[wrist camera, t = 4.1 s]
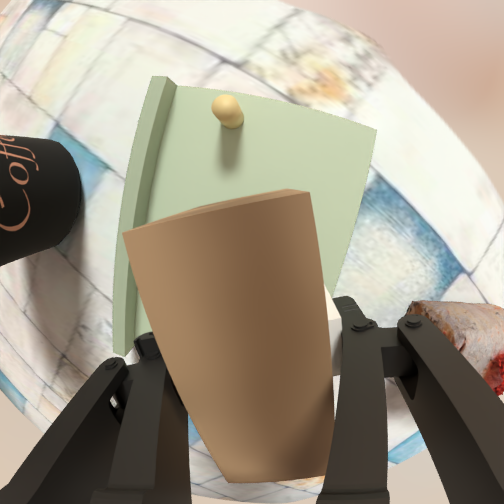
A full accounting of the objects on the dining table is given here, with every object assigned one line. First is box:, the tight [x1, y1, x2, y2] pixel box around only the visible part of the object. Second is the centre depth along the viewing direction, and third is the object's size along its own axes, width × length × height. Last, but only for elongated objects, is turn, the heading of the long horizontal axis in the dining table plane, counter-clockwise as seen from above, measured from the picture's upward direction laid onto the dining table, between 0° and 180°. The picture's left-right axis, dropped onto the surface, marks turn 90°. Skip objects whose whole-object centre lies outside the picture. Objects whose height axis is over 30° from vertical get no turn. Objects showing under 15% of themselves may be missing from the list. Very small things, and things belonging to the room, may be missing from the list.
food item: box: [406, 300, 504, 396], centre depth 16 cm, size 14×8×10 cm, turn 84°
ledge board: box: [113, 76, 377, 357], centre depth 19 cm, size 16×22×4 cm
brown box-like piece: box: [122, 188, 335, 483], centre depth 12 cm, size 5×12×9 cm, turn 11°
